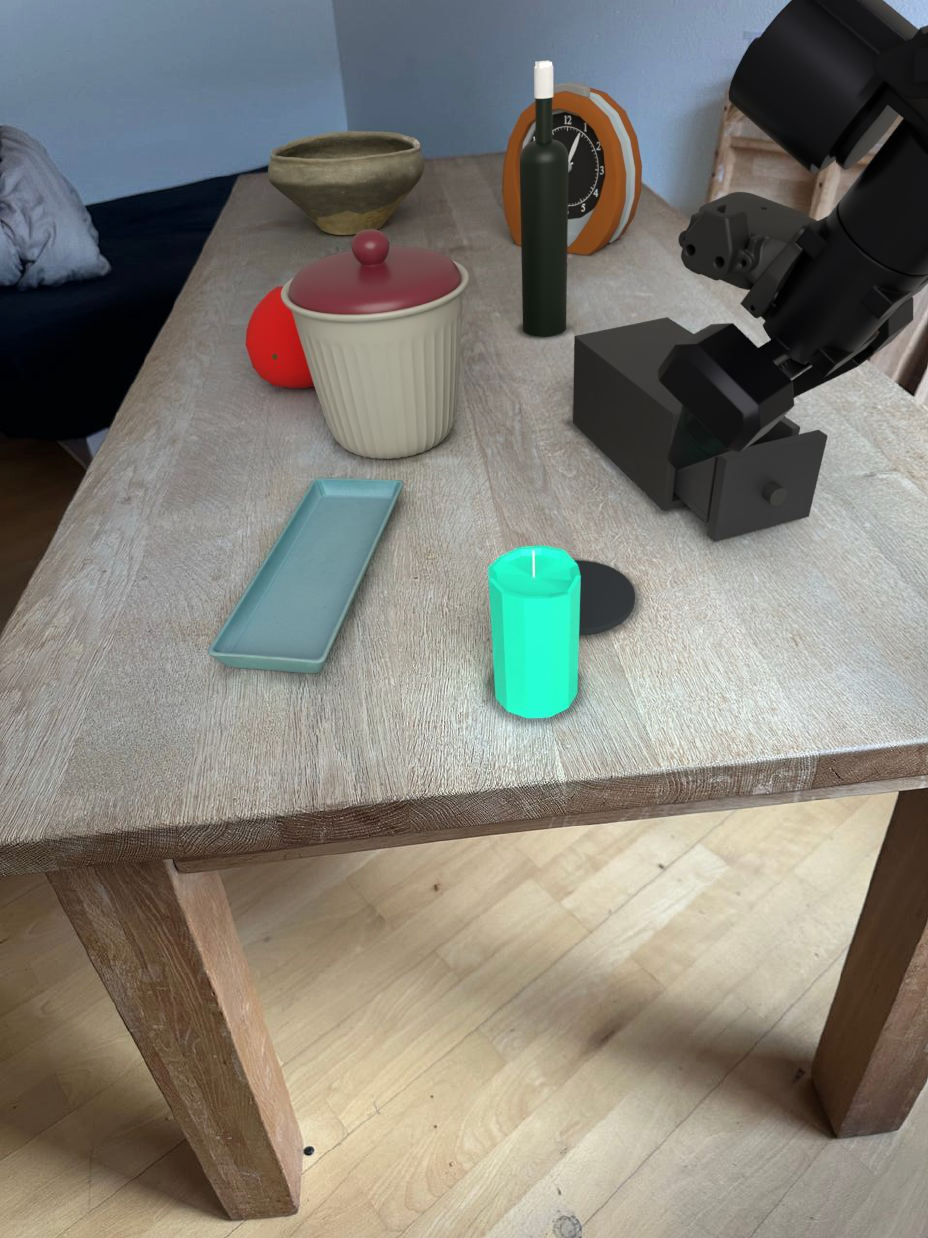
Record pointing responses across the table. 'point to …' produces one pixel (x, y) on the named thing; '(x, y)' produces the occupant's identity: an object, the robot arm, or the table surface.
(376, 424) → the canister
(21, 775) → the table surface
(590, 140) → the alarm clock
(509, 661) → the candle
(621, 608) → the coaster
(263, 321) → the tomato
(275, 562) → the rectangular tray
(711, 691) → the table surface
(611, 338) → the cabinet
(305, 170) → the bowl
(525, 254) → the wine bottle
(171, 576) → the table surface
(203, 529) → the table surface
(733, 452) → the drawer
